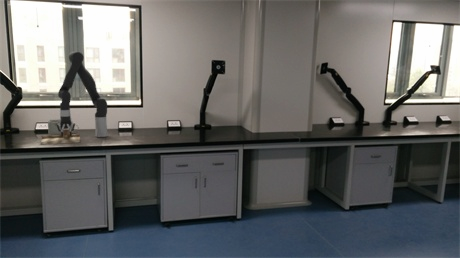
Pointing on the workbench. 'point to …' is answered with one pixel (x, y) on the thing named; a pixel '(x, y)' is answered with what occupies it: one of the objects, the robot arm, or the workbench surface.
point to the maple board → (60, 139)
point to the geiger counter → (53, 127)
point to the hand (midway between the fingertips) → (66, 136)
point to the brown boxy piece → (66, 133)
